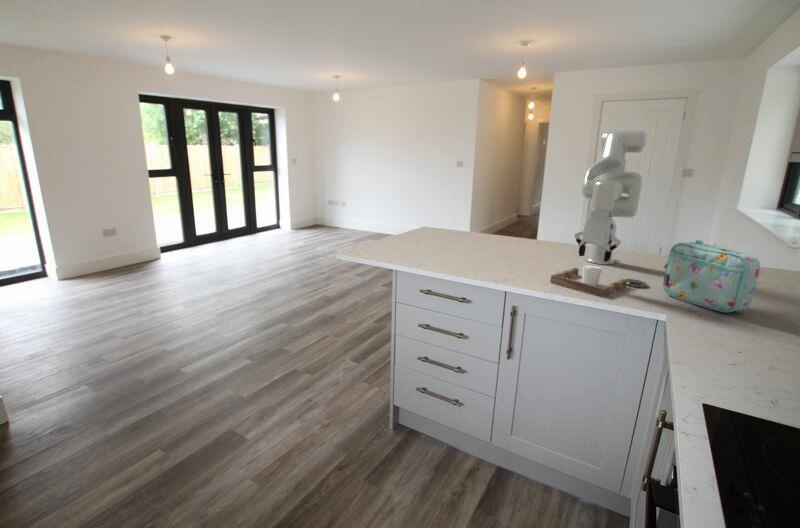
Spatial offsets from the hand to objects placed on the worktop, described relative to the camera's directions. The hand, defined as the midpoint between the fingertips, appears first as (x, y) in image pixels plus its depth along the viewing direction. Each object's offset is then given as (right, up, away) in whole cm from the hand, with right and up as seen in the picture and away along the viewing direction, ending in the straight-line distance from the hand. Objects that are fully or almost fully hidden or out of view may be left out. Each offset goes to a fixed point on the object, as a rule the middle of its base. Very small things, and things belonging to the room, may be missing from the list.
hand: (593, 258), depth 158 cm
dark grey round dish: (+18, -10, +4) cm, 21 cm away
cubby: (-1, -10, +3) cm, 11 cm away
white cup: (0, -10, +3) cm, 11 cm away
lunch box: (+30, -16, -15) cm, 37 cm away
